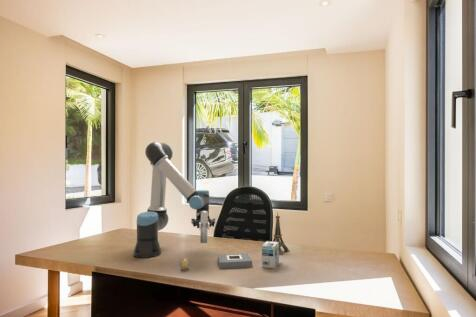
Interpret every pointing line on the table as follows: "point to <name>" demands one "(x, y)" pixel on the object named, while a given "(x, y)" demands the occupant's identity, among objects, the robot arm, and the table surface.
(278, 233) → the eiffel tower
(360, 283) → the table surface
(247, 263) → the flat grey box
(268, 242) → the light bulb box
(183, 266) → the brass pin
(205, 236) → the steel pin
